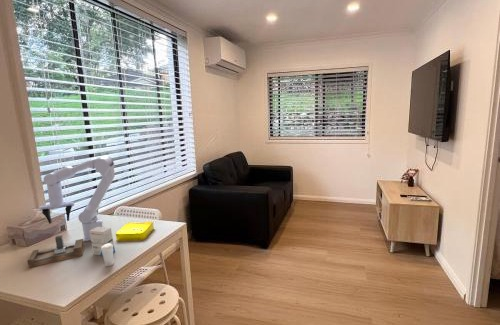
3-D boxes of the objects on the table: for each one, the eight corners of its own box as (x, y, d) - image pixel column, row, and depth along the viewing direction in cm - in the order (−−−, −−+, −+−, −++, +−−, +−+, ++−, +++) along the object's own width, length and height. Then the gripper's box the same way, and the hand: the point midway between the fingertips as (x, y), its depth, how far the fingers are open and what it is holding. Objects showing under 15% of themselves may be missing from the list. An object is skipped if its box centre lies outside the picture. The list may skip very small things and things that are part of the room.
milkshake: (104, 262, 122) (100, 240, 120) (117, 261, 122) (113, 239, 120) (99, 268, 117) (96, 245, 116) (113, 266, 118) (109, 244, 116)
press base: (84, 246, 138) (82, 238, 138) (82, 255, 129) (80, 247, 129) (34, 257, 130) (32, 249, 129) (28, 267, 121) (26, 258, 120)
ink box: (115, 251, 131) (111, 227, 129) (107, 256, 127) (103, 232, 125) (101, 249, 134) (97, 226, 132) (92, 254, 130) (88, 230, 128)
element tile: (155, 228, 157) (154, 220, 156) (144, 240, 142) (143, 231, 141) (128, 229, 157) (127, 221, 156) (115, 242, 142) (113, 233, 141)
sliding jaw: (67, 248, 133) (64, 233, 132) (65, 253, 128) (62, 238, 127) (57, 250, 132) (54, 235, 130) (55, 255, 126) (52, 240, 125)
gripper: (36, 200, 136) (40, 227, 138) (71, 195, 142) (75, 221, 144) (39, 196, 142) (43, 222, 144) (73, 192, 148) (76, 217, 150)
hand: (59, 221), depth 145 cm, fingers open, 7 cm apart
